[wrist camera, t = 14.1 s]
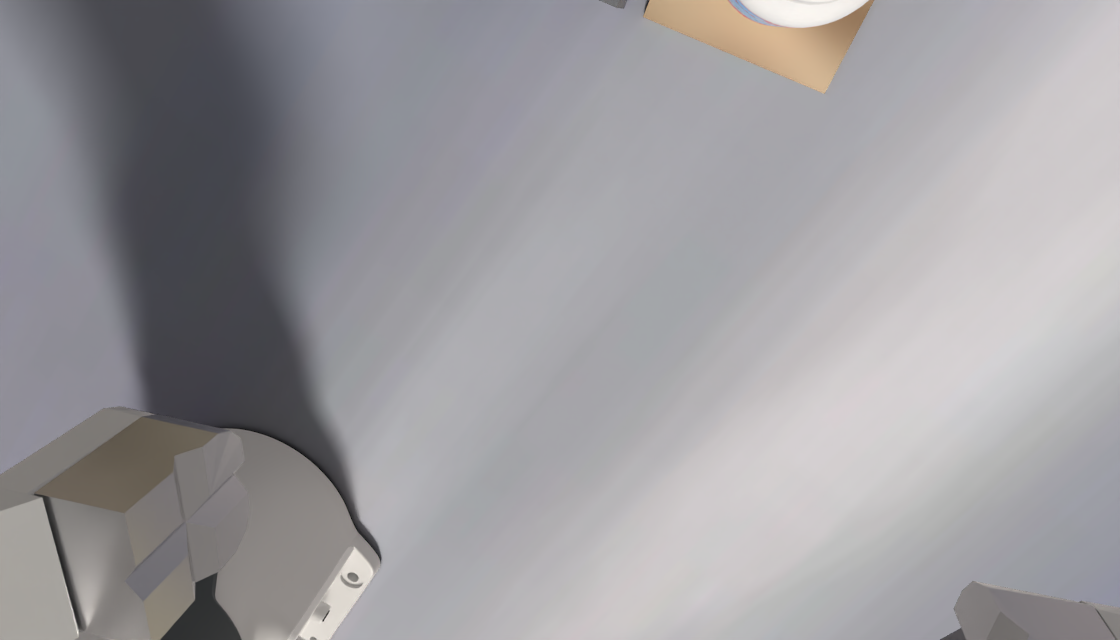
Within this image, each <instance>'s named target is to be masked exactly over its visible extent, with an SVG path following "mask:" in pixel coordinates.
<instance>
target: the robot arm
mask: <svg viewBox="0 0 1120 640" xmlns="http://www.w3.org/2000/svg"><path fill="white" fill-rule="evenodd" d="M379 568H380V559H379V557H378V555H377V554H376V552H375V551H374V550H373V549H372V547H371V546H370V545H369V544H368V543H367V542H366V540H365V539H364V538H363V537H362V536H361V535H360V534H359V533H358V532H357V530H356V528H355V526H354V524H353V522H352V520H351V517H350V515H349V512H348V510H347V508H346V505H345V503H344V501H343V499H342V498H341V496H340V494H339V493H338V491H337V490H336V488H335V487H334V485H333V484H332V483H331V481H330V480H329V479H328V478H327V477H326V476H325V475H324V473H323V472H322V471H321V470H320V469H319V468H318V467H316V466H315V465H314V464H313V463H312V462H311V461H310V460H308V459H307V458H306V457H304V456H303V455H302V454H300V453H299V452H297V451H296V450H294V449H293V448H291V447H289V446H288V445H286V444H284V443H282V442H280V441H278V440H276V439H273V438H271V437H268V436H266V435H263V434H260V433H256V432H252V431H247V430H241V429H229V428H224V429H221V428H217V427H212V426H208V425H204V424H199V423H195V422H190V421H186V420H182V419H177V418H173V417H168V416H164V415H160V414H152V413H148V412H144V411H139V410H135V409H130V408H126V407H121V406H119V407H111V408H103V409H102V410H100V411H99V412H97V413H96V414H94V415H93V416H91V417H89V418H88V419H86V420H85V421H83V422H82V423H80V424H79V425H77V426H75V427H74V428H72V429H71V430H69V431H68V432H66V433H65V434H63V435H61V436H60V437H58V438H57V439H55V440H54V441H52V442H51V443H49V444H47V445H46V446H44V447H43V448H41V449H40V450H38V451H37V452H35V453H33V454H32V455H30V456H29V457H27V458H26V459H24V460H23V461H21V462H19V463H18V464H16V465H15V466H13V467H12V468H10V469H9V470H7V471H5V472H4V473H2V474H1V475H0V640H330V639H331V637H332V636H333V634H334V633H335V632H336V630H337V629H338V627H339V626H340V624H341V623H342V622H343V620H344V619H345V617H346V616H347V614H348V613H349V612H350V610H351V609H352V607H353V606H354V605H355V603H356V602H357V600H358V599H359V597H360V596H361V595H362V593H363V592H364V590H365V589H366V587H367V586H368V585H369V583H370V582H371V580H372V579H373V577H374V576H375V575H376V573H377V572H378V570H379ZM954 611H955V614H956V616H957V618H958V621H959V623H960V626H961V628H960V629H958V630H957V631H955V632H953V633H951V634H949V635H947V636H946V637H944V638H942V639H940V640H1120V608H1118V607H1113V606H1107V605H1102V604H1096V603H1091V602H1085V601H1080V602H1076V601H1072V600H1067V599H1062V598H1057V597H1052V596H1047V595H1042V594H1037V593H1032V592H1027V591H1022V590H1016V589H1011V588H1006V587H1001V586H996V585H991V584H986V583H981V582H976V581H972V582H971V583H970V584H969V585H968V586H967V587H966V588H964V589H963V590H962V592H961V594H960V596H959V598H958V600H957V602H956V604H955V607H954Z"/></svg>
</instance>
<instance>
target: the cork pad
mask: <svg viewBox="0 0 1120 640" xmlns="http://www.w3.org/2000/svg"><path fill="white" fill-rule="evenodd" d="M873 1H874V0H869V1H867V2H866V3H865V4H864V5H863V6H861V7H860V8H858V9H857V10H855V11H854V12H852V13H851V14H849V15H847V16H845V17H843V18H841V19H839V20H836V21H834V22H831V23H828V24H824V25H820V26H815V27H808V28H786V27H775V26H767V25H763V24H759V23H756V22H754V21H752V20H749V19H748V18H746V17H744V16H743V15H741V14H740V13H739V12H738V11H737V10H736V9H734V8H733V7H732V5H731V4H730V3H729V2H728V0H650V1H649V3H648V6H647V8H646V11H645V13H644V16H643V17H645V18H647V19H649V20H652V21H654V22H656V23H659V24H661V25H663V26H666V27H668V28H671V29H673V30H675V31H678V32H680V33H682V34H685V35H687V36H689V37H692V38H694V39H696V40H699V41H701V42H704V43H706V44H708V45H711V46H713V47H715V48H718V49H720V50H722V51H725V52H727V53H730V54H732V55H734V56H737V57H739V58H741V59H744V60H746V61H748V62H751V63H753V64H756V65H758V66H760V67H763V68H765V69H767V70H770V71H772V72H774V73H777V74H779V75H782V76H784V77H786V78H789V79H791V80H793V81H796V82H798V83H800V84H803V85H805V86H808V87H810V88H812V89H815V90H817V91H819V92H822V93H824V94H825V92H826V90H827V88H828V86H829V84H830V82H831V80H832V78H833V77H834V75H835V73H836V71H837V69H838V67H839V65H840V63H841V62H842V60H843V58H844V56H845V54H846V52H847V50H848V48H849V47H850V45H851V43H852V41H853V39H854V37H855V35H856V33H857V31H858V30H859V28H860V26H861V24H862V22H863V20H864V18H865V16H866V15H867V13H868V11H869V9H870V7H871V5H872V3H873Z"/></svg>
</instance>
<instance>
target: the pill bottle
mask: <svg viewBox="0 0 1120 640" xmlns="http://www.w3.org/2000/svg"><path fill="white" fill-rule="evenodd" d="M867 1H869V0H728V2H729V3H730V4H731V5H732V7H733V8H734V9H736V10H737V11H738V12H739V13H740V14H741V15H743V16H744V17H746V18H748V19H749V20H752V21H754V22H756V23H759V24H763V25H767V26H775V27H786V28H808V27H815V26H820V25H824V24H828V23H831V22H834V21H836V20H839V19H841V18H843V17H845V16H847V15H849V14H851V13H852V12H854V11H855V10H857V9H858V8H860V7H861V6H863V5H864V4H865V3H866V2H867Z"/></svg>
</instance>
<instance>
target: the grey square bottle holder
mask: <svg viewBox="0 0 1120 640" xmlns="http://www.w3.org/2000/svg"><path fill="white" fill-rule="evenodd" d="M600 1H602V2H604V3H607V4H609V5H611V6H614V7H616V8H624V7H625V4H626V2H627V0H600Z"/></svg>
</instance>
